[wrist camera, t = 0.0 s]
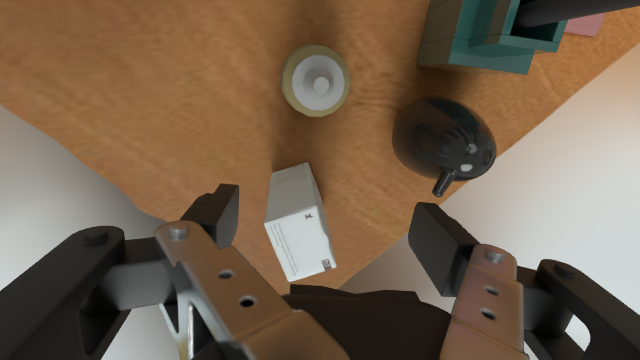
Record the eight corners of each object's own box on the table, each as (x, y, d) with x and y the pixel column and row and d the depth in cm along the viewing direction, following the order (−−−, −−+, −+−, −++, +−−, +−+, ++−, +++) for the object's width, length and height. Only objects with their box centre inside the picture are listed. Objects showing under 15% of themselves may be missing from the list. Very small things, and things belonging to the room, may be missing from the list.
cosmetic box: (271, 172, 43) (257, 219, 29) (310, 160, 43) (316, 202, 29) (289, 220, 46) (285, 285, 32) (326, 209, 46) (338, 270, 32)
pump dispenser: (368, 137, 42) (403, 170, 28) (419, 77, 40) (486, 80, 26) (418, 178, 45) (473, 227, 31) (468, 124, 42) (554, 150, 28)
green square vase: (433, -13, 36) (508, -61, 23) (501, -2, 37) (611, -42, 24) (416, 65, 39) (474, 61, 26) (479, 74, 40) (566, 75, 27)
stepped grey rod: (450, 22, 38) (695, -58, 14) (469, 25, 38) (741, -49, 15) (445, 39, 38) (674, -11, 15) (464, 42, 39) (717, -3, 15)
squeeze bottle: (350, 56, 38) (389, 44, 21) (332, 117, 41) (356, 149, 24) (289, 38, 37) (280, 9, 20) (275, 102, 40) (257, 124, 23)
